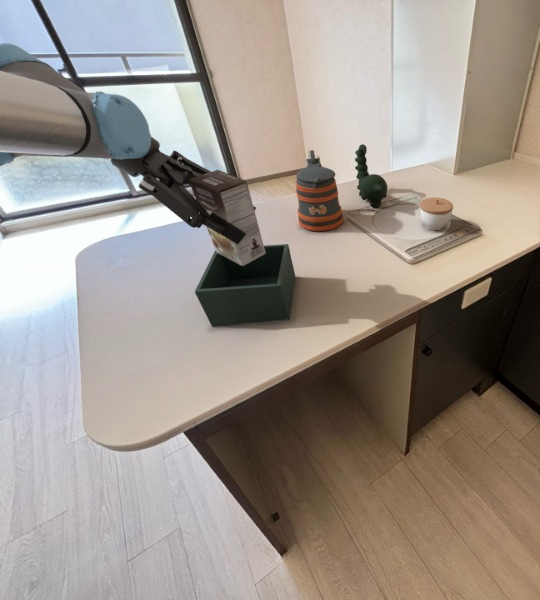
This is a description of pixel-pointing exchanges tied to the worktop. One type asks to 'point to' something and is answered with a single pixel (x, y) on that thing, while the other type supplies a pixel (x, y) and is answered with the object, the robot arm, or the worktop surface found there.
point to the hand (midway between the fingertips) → (247, 225)
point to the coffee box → (230, 214)
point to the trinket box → (435, 212)
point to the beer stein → (318, 197)
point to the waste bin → (248, 288)
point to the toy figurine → (369, 180)
